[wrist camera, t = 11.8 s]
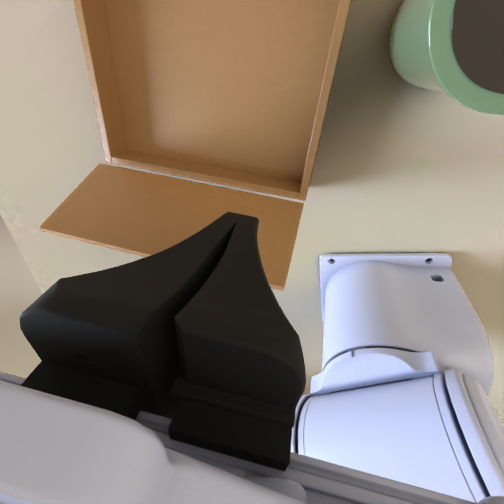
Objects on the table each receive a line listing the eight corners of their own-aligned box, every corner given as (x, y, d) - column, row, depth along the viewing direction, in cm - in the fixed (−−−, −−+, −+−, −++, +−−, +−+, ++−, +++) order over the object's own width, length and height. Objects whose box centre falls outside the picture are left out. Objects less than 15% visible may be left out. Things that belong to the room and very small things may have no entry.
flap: (303, 203, 18) (302, 207, 18) (99, 163, 20) (102, 167, 20) (284, 287, 14) (283, 291, 14) (38, 227, 16) (42, 232, 17)
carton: (308, 188, 20) (305, 201, 18) (126, 153, 23) (106, 162, 21) (368, -74, 13) (374, -100, 11) (88, -87, 15) (49, -111, 13)
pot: (534, -71, 12) (853, -292, 5) (496, 82, 15) (652, 97, 7) (388, -30, 14) (450, -142, 6) (380, 100, 16) (415, 127, 9)
